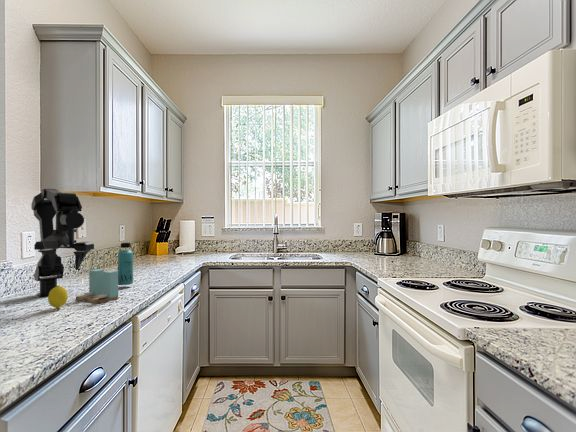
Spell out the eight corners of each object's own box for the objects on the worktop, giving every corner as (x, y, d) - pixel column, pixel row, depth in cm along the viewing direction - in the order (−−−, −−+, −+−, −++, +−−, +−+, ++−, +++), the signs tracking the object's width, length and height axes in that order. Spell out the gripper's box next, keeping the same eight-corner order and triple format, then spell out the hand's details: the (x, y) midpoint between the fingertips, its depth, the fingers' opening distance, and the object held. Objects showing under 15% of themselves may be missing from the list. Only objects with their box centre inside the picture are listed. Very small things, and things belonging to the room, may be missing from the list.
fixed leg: (96, 298, 123) (96, 273, 123) (111, 294, 129) (111, 270, 129) (102, 299, 122) (102, 273, 122) (118, 295, 128) (118, 271, 128)
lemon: (57, 311, 111) (57, 287, 111) (43, 310, 112) (43, 286, 112) (71, 307, 116) (71, 284, 116) (58, 306, 117) (58, 283, 117)
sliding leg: (81, 296, 126) (81, 271, 126) (97, 292, 132) (97, 269, 132) (87, 297, 125) (88, 272, 125) (103, 293, 131) (103, 269, 131)
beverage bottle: (113, 287, 147) (113, 242, 147) (126, 285, 153) (126, 241, 153) (124, 289, 144) (124, 243, 144) (136, 286, 150) (136, 242, 150)
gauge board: (75, 299, 126) (75, 296, 126) (94, 295, 133) (94, 292, 133) (100, 303, 121) (100, 299, 121) (118, 298, 128) (118, 295, 128)
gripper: (22, 227, 114) (21, 272, 114) (76, 228, 114) (75, 274, 114) (45, 225, 125) (45, 266, 125) (95, 227, 125) (94, 268, 125)
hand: (64, 269), depth 122 cm, fingers open, 9 cm apart
